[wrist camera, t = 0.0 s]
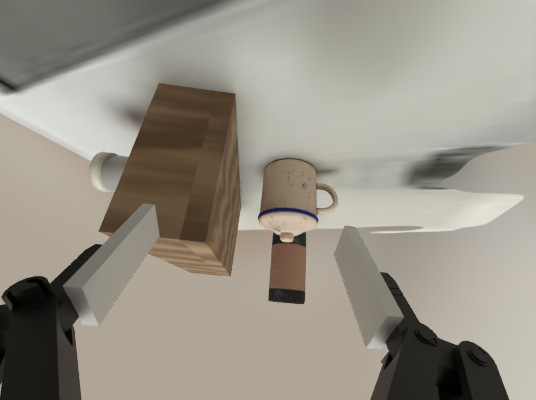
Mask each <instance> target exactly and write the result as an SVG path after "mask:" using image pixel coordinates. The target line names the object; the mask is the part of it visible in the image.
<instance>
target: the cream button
mask: <svg viewBox="0 0 536 400" xmlns="http://www.w3.org/2000/svg"><path fill="white" fill-rule="evenodd" d="M128 158H129V157H125V156H119V155H117V154H115V153H107V152H101V153H98V154H97V155H96V156H95V157H94V158H93V159H92V161H91V164H90V168H89V177H90V181H91V183H92V185H93V186H94V188H96V189H97V190H99V191H106V192H114V191H115V190H116V188H117V185H118V183H119V180H120V178H121V175H122V173H123V170H124V168H125V165H126V163H127V161H128Z"/></svg>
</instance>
